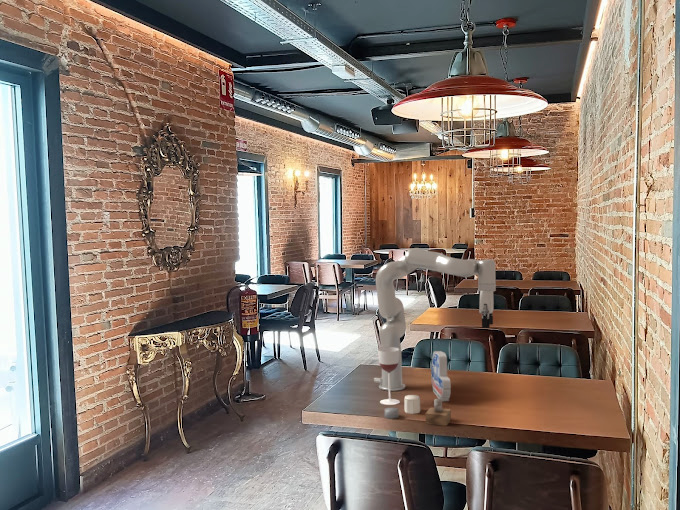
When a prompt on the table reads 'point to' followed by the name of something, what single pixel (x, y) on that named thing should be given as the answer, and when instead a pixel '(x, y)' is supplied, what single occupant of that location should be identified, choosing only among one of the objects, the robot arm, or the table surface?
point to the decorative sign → (440, 376)
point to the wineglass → (388, 367)
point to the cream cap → (412, 404)
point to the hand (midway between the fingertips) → (487, 326)
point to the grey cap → (391, 413)
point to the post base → (438, 414)
